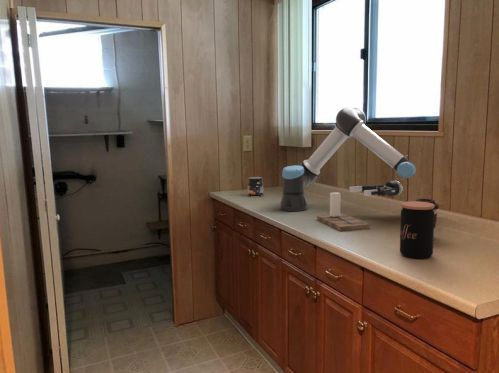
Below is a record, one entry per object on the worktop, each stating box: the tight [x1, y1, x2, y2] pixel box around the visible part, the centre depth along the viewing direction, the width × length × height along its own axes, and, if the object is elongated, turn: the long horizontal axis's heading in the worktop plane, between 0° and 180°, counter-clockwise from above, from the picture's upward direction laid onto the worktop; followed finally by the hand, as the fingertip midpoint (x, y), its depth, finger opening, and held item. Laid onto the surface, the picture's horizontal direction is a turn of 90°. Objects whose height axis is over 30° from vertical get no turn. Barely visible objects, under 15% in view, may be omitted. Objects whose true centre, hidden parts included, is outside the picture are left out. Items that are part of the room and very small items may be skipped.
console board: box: [316, 213, 371, 232], centre depth 190 cm, size 24×14×2 cm, turn 15°
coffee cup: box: [415, 198, 440, 238], centre depth 165 cm, size 10×10×15 cm
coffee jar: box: [399, 200, 435, 260], centre depth 142 cm, size 11×11×18 cm
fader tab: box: [329, 192, 342, 217], centre depth 196 cm, size 3×4×11 cm
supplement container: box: [247, 176, 264, 197], centre depth 274 cm, size 10×10×12 cm
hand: (356, 191), depth 198 cm, fingers open, 13 cm apart
